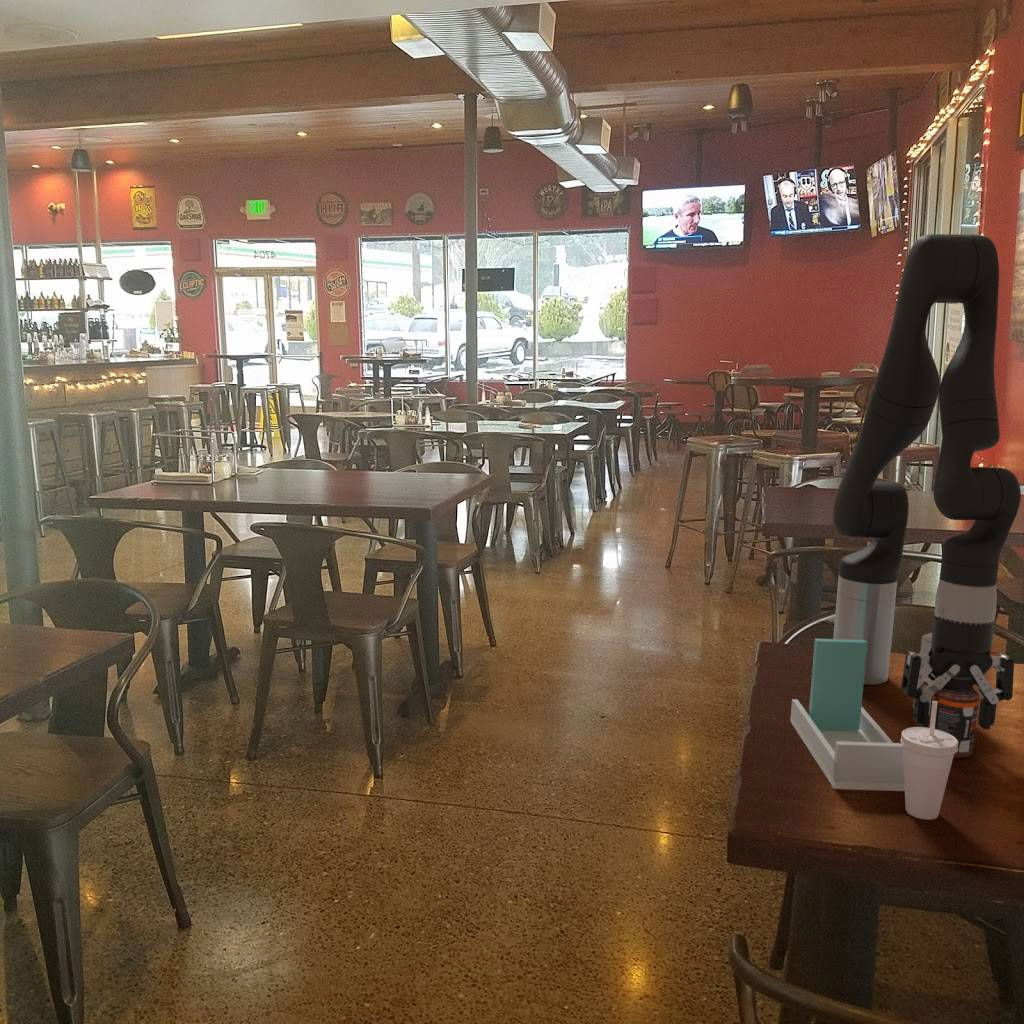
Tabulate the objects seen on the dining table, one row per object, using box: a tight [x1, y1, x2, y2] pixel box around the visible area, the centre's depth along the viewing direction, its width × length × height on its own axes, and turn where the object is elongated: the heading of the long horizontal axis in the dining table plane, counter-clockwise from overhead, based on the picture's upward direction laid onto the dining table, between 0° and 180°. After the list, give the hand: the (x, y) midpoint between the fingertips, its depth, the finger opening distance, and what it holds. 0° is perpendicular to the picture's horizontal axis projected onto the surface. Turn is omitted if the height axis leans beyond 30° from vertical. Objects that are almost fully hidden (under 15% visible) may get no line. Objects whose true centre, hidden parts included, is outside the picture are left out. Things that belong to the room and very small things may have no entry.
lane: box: [790, 698, 905, 792], centre depth 136 cm, size 22×10×6 cm, turn 179°
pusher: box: [808, 638, 867, 730], centre depth 141 cm, size 1×7×13 cm, turn 89°
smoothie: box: [900, 701, 958, 821], centre depth 119 cm, size 6×6×14 cm
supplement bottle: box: [927, 677, 980, 759], centre depth 138 cm, size 6×6×11 cm
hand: (952, 726), depth 138 cm, fingers open, 8 cm apart
